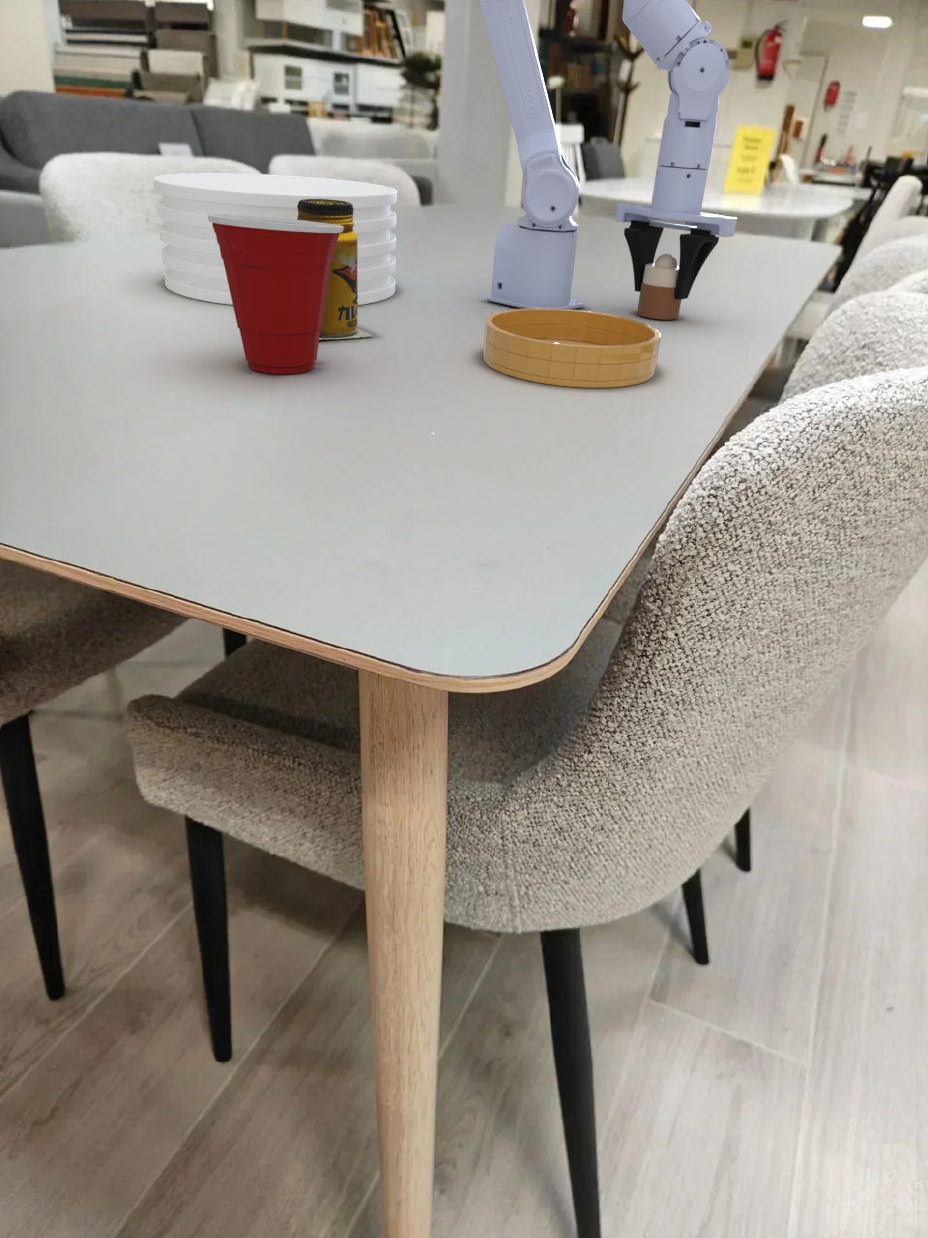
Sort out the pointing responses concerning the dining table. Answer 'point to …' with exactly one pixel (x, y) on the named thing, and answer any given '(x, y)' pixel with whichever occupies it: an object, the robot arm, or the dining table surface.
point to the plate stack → (265, 195)
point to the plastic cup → (277, 286)
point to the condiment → (338, 268)
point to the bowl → (570, 347)
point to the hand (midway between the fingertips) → (661, 294)
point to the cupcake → (660, 289)
